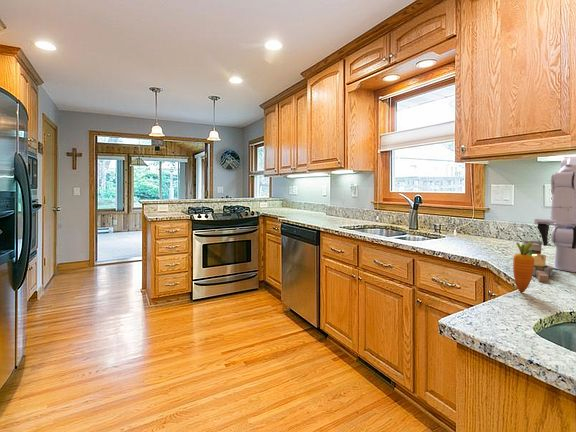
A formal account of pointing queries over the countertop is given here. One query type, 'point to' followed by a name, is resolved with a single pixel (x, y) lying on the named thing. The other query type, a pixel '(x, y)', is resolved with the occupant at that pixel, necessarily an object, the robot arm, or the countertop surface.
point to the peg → (539, 260)
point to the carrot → (523, 267)
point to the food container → (534, 247)
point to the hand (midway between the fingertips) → (559, 247)
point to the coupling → (542, 273)
